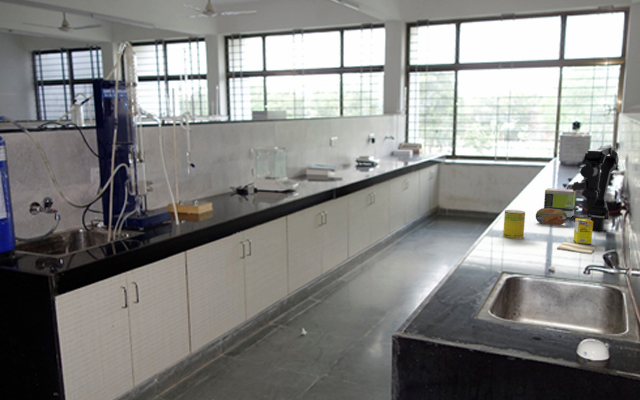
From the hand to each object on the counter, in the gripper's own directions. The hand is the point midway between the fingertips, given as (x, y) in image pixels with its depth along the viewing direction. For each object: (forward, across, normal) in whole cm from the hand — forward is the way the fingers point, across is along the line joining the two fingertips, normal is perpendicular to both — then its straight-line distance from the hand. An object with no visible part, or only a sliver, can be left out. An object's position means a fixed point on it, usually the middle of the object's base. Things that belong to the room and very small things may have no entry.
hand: (589, 209), depth 245 cm
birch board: (+14, +27, -1) cm, 30 cm away
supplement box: (+14, +17, 0) cm, 22 cm away
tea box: (+11, -48, -19) cm, 53 cm away
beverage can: (+14, +20, -29) cm, 38 cm away
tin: (+12, -20, -19) cm, 30 cm away
